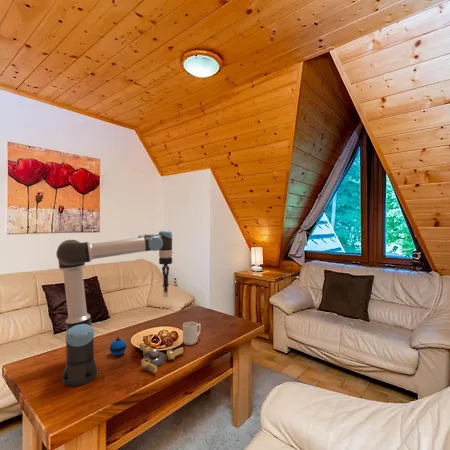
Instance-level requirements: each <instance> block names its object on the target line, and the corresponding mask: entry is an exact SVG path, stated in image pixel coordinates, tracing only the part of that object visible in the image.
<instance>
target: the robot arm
mask: <svg viewBox="0 0 450 450" xmlns="http://www.w3.org/2000/svg"><path fill="white" fill-rule="evenodd" d="M150 251H153V252H157V251H158V257H159V258H158V263H159V265H162V267H161V270H162V275H163V285H162V288H163V290H162V293H163V294H162V296H163V298H169V286H170V284H169V274H170V273H169V271H170V266H169V265H172V264H173V258H172V256H173V253H174V251H173V232H172V230H160V231H158V234H139V235H138V236H137V237H134V238H128V239H119V240H110V241H109V240H108V241H103V242H94V243H91V242H88V241H84V242H80V241H78V240H76V239H67V240H63V241H62V242H61V243H60V244H59V245H58V247H57V250H56V259H57V260H58V267H59V268H58V269H59V270H61V271H62V274H63V281H64V282H63V283H64V289H65V290H64V291H65V298H66V309H67V319H65V321H64V322H65V331H66V333H65V345H66V347H65V350H66V353H65V356H66V357H65V359H66V362H65V367H64V371H63V373H62V376H61V383H62V382H63V383H62V384H63V385H64V384H65V385H64V386H66V385H68V386H67V387H79V386H83V385H86V384H88V383H91V382H92V381H94V380H95V379H96V378H97V377H98V374H99V369H98V366H97V363H96V360H95V352H94V351H95V347H94V346H95V343H94V340H95V339H94V337H95V330H94V327H93V326H92V317H91V314H90V313H88V311H87V310H88V309H87V302H86V301H87V300H86V292H85V291H86V290H85V283H84V275H83V274H84V273H83V267H85V265H86V263H91V261H92V260H97V259H102V258H103V259H104V258H110V257H117V256H122V255H131V254H134V253H135V254H136V253H144V252H150ZM78 385H79V386H78Z"/></svg>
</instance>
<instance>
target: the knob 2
mask: <svg viewBox="0 0 450 450" xmlns="http://www.w3.org/2000/svg"><path fill="white" fill-rule="evenodd" d="M140 369H141V371H147V370H149V371H151V372H152V373H157V372H158V366H156V365H154V364H151V363H150V359H148V358H145V359H143V358H142V359H141V360H140Z"/></svg>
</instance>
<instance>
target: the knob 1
mask: <svg viewBox="0 0 450 450" xmlns="http://www.w3.org/2000/svg"><path fill="white" fill-rule="evenodd" d="M138 346H139V347H140V348H141V349H140V351H142V355H143V357H144V356H145V355H146V354H148V353H150V351H151V350H152V345H145V344H143V343H139V345H138Z"/></svg>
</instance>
